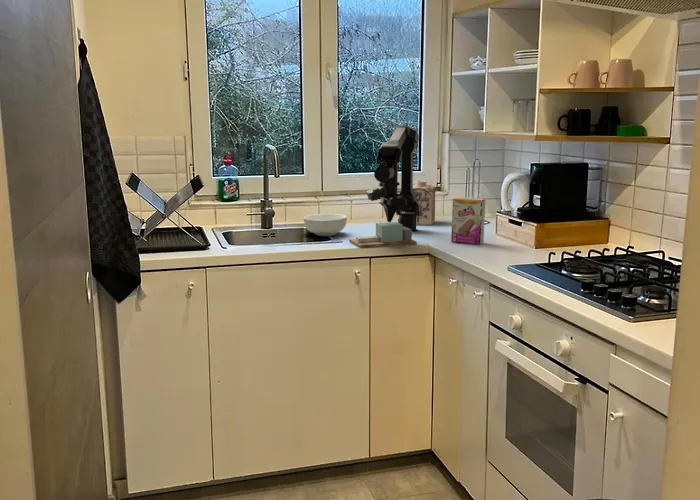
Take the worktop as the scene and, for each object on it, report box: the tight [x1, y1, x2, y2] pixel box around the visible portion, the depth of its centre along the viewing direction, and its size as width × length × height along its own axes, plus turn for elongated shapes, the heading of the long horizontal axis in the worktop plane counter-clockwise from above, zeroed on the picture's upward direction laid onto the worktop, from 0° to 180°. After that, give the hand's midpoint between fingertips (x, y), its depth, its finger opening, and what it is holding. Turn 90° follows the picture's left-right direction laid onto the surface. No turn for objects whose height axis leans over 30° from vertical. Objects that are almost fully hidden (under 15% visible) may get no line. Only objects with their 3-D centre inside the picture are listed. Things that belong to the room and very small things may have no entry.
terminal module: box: [375, 221, 403, 242], centre depth 264 cm, size 8×6×6 cm
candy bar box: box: [451, 196, 486, 246], centre depth 263 cm, size 11×5×16 cm, turn 65°
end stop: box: [402, 227, 413, 241], centre depth 266 cm, size 2×7×4 cm, turn 18°
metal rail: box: [355, 235, 403, 243], centre depth 263 cm, size 20×3×2 cm, turn 108°
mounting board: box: [348, 238, 418, 249], centre depth 263 cm, size 22×12×1 cm, turn 108°
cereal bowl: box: [303, 213, 347, 237], centre depth 281 cm, size 17×17×7 cm
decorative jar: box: [409, 180, 437, 226], centre depth 306 cm, size 12×12×18 cm
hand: (389, 222), depth 263 cm, fingers closed
